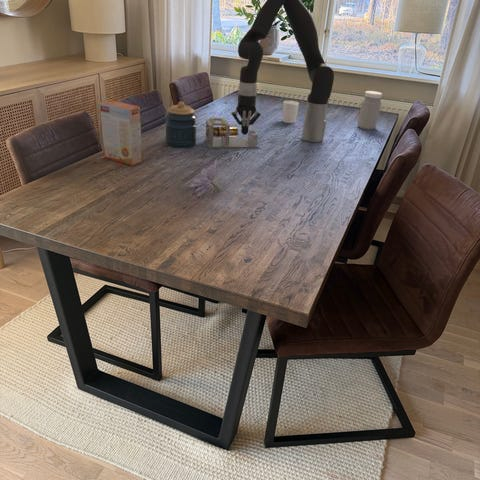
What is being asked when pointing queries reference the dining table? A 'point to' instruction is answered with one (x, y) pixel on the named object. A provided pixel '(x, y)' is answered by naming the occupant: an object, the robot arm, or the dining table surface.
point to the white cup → (290, 111)
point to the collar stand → (225, 141)
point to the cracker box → (121, 132)
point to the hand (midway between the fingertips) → (244, 134)
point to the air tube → (223, 132)
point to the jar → (369, 110)
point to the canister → (180, 126)
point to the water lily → (206, 179)
